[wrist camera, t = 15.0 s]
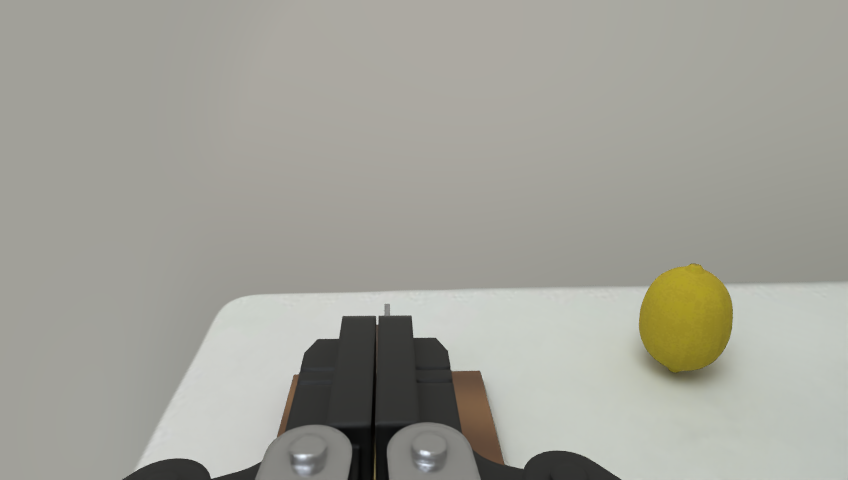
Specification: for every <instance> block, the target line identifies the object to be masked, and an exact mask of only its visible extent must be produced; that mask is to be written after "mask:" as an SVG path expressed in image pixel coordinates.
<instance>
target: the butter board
mask: <svg viewBox="0 0 848 480" xmlns="http://www.w3.org/2000/svg"><path fill="white" fill-rule="evenodd" d="M451 373H452V378H453V384H454V390H455V395H456V401H457V407H458V412H459V418H460V424H461V429H462V433H463V435H464V436H465V437H466V439H467V440H468V442H469V443H470V446H471V448H472V449H473V450H474V451H475V452H477V453H478V454H479V455H481V456H483V457H484V458H486V459H488V460H490V461H493V462H495V463H499V464H502V465H505V464H504V461H503V457H502V453H501V449H500V445H499V441H498V438H497V434H496V430H495V426H494V422H493V418H492V414H491V411H490V407H489V403H488V399H487V395H486V391H485V388H484V384H483V380H482V376H481V372H480V371H451ZM298 377H299V375H294V376H293V380H292V384H291V387H290V391H289V395H288V398H287V402H286V406H285V409H284V413H283V417H282V420H281V424H280V428H279V432H278V435H277V437H279V436H280V435H282V434H283V433H284V432H285V429H286V425H287V421H288V417H289V413H290V409H291V405H292V401H293V397H294V393H295V389H296V385H297V381H298ZM374 480H376V458H375V469H374Z"/></svg>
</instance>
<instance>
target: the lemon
mask: <svg viewBox="0 0 848 480" xmlns="http://www.w3.org/2000/svg"><path fill="white" fill-rule="evenodd" d="M732 320H733V309H732V301H731V298H730V295H729V293H728V291H727V289H726V287H725V286H724V284H723V283H722V282H721V281H720V280H719V279H718V278H717V277H716V276H714V275H713V274H712V273H710V272H708V271H706V270H704V269H703V268H702V266H701V265H699V264H690V265H688V266H685V267H677V268H674V269H671V270H669V271H667V272H665V273H663V274H661V275H660V276H659V277H658V278H657V279H655V281H654V282H653V283H652V284H651V286H650V287H649V289H648V291H647V293H646V295H645V297H644V299H643V302H642V305H641V310H640V318H639V330H640V336H641V339H642V341H643V344H644V346H645V348H646V349H647V351H648V352H649V353H650V354H651V356H652V357H653V358H654V359H655V360H657V361H658V362H660V363H661V364H663V365H665V366H666V367H667V368H668V369H669V370H670V371H671V372H674V373H678V372H680V371H691V370H697V369H701V368H703V367H705V366H707V365H709V364H711V363H712V362H714V361H715V360H716V359H717V358H718V357H719V356H720V354H721V353H722V352H723V350H724V349H725V347H726V345H727V343H728V341H729V338H730V335H731V330H732Z"/></svg>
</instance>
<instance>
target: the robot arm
mask: <svg viewBox="0 0 848 480" xmlns="http://www.w3.org/2000/svg"><path fill="white" fill-rule="evenodd" d="M375 458H376V480H621V479H620V478H618V477H617V476H615V475H613V474H612V473H610V472H609V471H607V470H606V469H604V468H603V467H601V466H600V465H598V464H597V463H595V462H593V461H592V460H590V459H588V458H586V457H584V456H581V455H579V454H576V453H572V452H567V451H548V452H543V453H541V454H538V455H536V456H534V457H533V458H531V459H530V460H529V461H528V462H527V464H526V465H525V467H524V469H520V468H515V467H511V466H507V465H502V464H499V463H495V462H493V461H490V460H488V459H486V458H484V457H483V456H481V455H479V454H478V453H477V452H475V451H474V450H473V449H472V448H471V446H470V443H469V442H468V440H467V439H466V437H465V436H464V435H463V433H462V429H461V424H460V418H459V412H458V407H457V401H456V395H455V390H454V384H453V378H452V373H451V370H450V361H449V356H448V351H447V350H446V349H445V348H444V346H443V345H442V344H441V343H440V342H439V341H438V340H437V339H436V338H413V328H412V316H379V323H378V353H377V352H376V316H343V318H342V324H341V330H340V337H339V339H318V340H317V341H316V342H315V343H314V344H313V345H312V346H311V347H310V348H309V349H308V350H307V351H306V352H305V353H304V357H303V361H302V365H301V371H300V373H299V377H298V381H297V385H296V389H295V393H294V397H293V401H292V405H291V409H290V413H289V417H288V421H287V425H286V429H285V432H284V433H283V434H282V435H280V436H279V437H277V438H276V439H275V440H274V441H273V442H272V443H271V444H270V446H269V447H268V449H267V451H266V453H265V455H264V458H263V460H262V462H260V463H258V464H256V465H254V466H252V467H250V468H248V469H245V470H242V471H239V472H235V473H232V474H228V475H224V476H221V477H217V478H213V479H211V478H210V474H209V472H208V471H207V469H206V468H205V467H204V466H203V465H202V464H200V463H198V462H196V461H193V460H189V459H167V460H162V461H158V462H155V463H152V464H149V465H147V466H145V467H143V468H141V469H139V470H137V471H135V472H134V473H132V474H131V475H129V476H127V477H126V478H124V479H123V480H374V469H375Z"/></svg>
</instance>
